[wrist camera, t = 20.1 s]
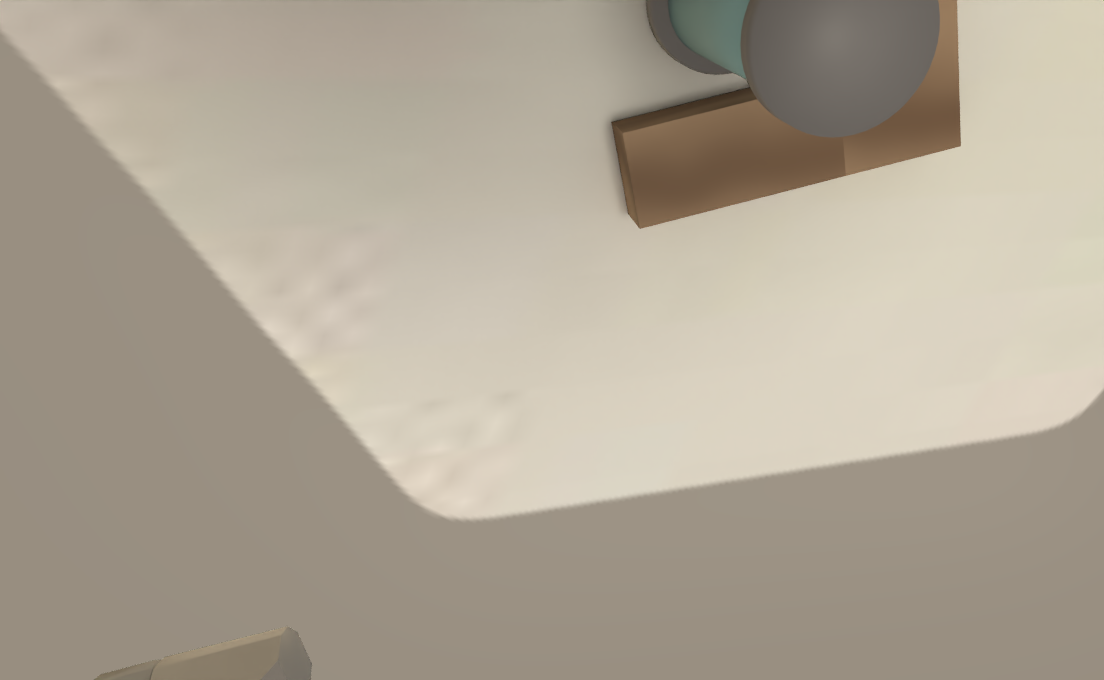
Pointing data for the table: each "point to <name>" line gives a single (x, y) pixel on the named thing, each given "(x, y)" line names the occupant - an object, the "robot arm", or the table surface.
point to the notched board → (773, 144)
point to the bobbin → (808, 54)
